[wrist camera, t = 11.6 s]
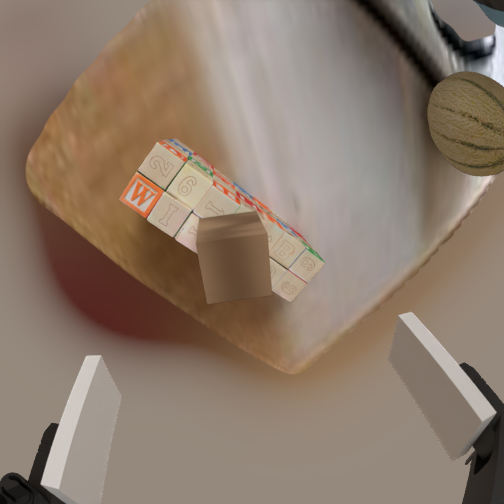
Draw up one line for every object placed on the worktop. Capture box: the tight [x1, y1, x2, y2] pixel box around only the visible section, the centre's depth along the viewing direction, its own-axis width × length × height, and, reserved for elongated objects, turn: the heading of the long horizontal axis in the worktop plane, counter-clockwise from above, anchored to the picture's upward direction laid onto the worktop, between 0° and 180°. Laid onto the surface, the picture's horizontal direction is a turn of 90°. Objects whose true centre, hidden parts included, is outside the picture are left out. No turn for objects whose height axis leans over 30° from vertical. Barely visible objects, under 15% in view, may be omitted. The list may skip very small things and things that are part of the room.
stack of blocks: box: [119, 138, 325, 302], centre depth 33 cm, size 21×6×12 cm, turn 51°
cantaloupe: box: [427, 71, 504, 176], centre depth 30 cm, size 15×15×15 cm
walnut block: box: [196, 211, 272, 304], centre depth 25 cm, size 5×5×6 cm
